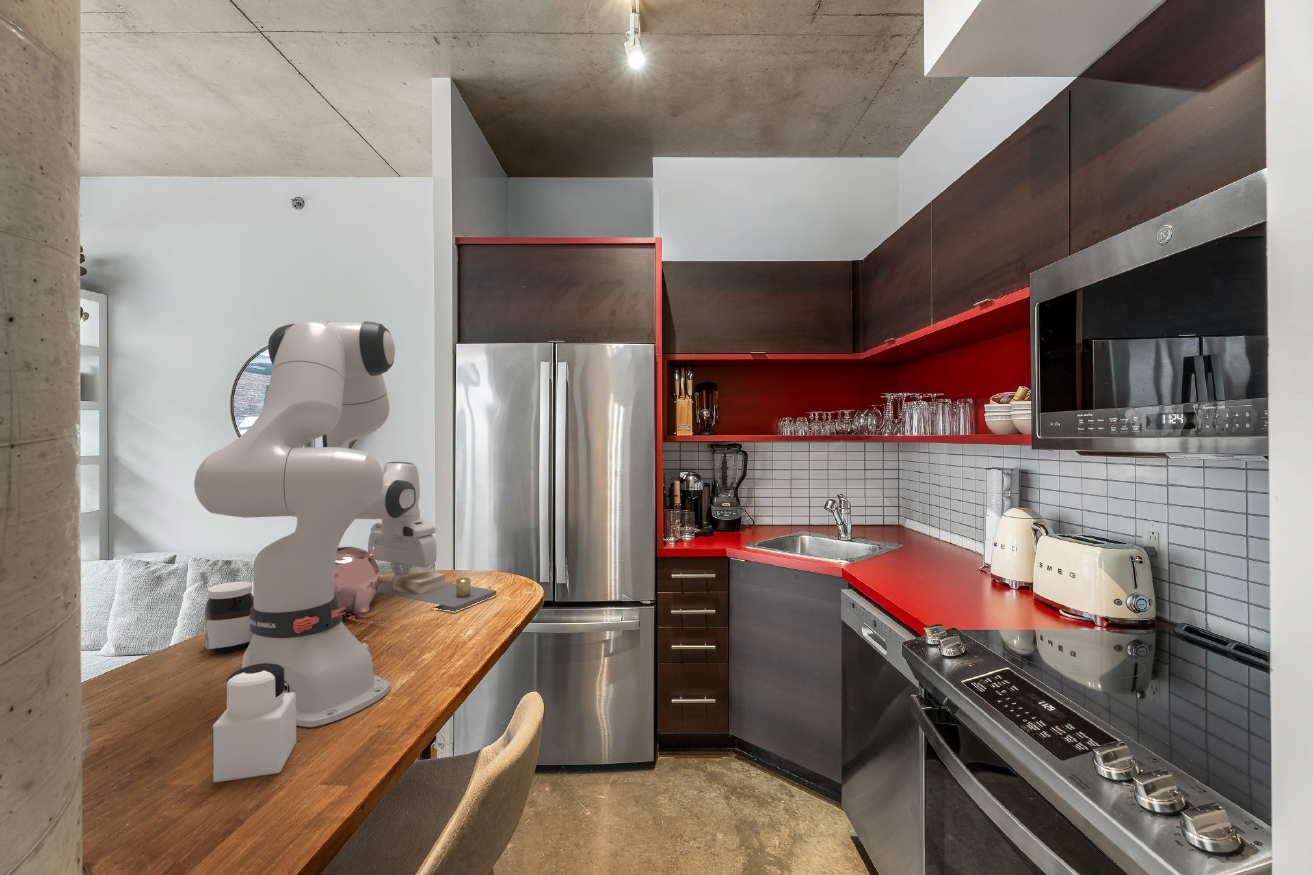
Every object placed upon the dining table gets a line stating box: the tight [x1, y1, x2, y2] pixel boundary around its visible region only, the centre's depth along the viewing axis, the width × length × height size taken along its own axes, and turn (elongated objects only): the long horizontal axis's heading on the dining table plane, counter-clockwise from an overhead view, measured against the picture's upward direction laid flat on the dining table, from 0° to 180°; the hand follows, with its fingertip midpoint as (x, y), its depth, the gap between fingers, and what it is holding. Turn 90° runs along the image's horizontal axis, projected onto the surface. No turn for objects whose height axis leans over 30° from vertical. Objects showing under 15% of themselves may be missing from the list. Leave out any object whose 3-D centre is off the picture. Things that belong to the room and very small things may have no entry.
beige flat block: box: [392, 570, 446, 595], centre depth 145 cm, size 9×8×3 cm
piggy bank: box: [334, 546, 381, 621], centre depth 129 cm, size 15×18×16 cm
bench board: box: [376, 579, 497, 612], centre depth 144 cm, size 30×14×2 cm, turn 65°
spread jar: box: [204, 581, 253, 655], centre depth 111 cm, size 12×11×12 cm
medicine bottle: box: [211, 663, 297, 783], centre depth 74 cm, size 7×7×12 cm
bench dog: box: [455, 577, 471, 598], centre depth 139 cm, size 3×3×4 cm
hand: (401, 580), depth 148 cm, fingers closed
